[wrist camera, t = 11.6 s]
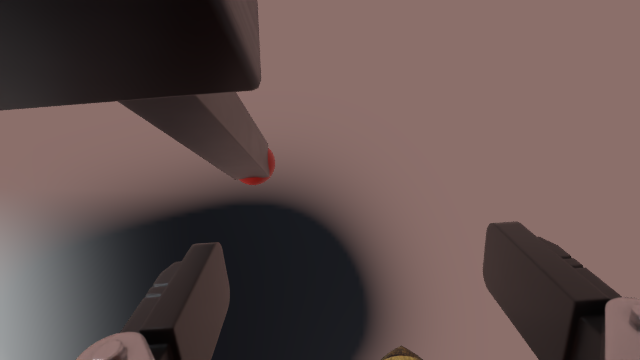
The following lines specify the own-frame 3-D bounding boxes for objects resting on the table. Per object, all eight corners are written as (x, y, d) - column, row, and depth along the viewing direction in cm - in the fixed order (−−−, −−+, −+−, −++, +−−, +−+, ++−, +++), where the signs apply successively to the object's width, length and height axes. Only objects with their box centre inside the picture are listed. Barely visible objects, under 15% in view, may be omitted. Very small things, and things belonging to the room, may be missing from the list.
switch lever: (83, -41, 5) (91, -207, 5) (-137, -23, 5) (-109, -190, 5) (280, 186, 24) (278, 146, 25) (236, 189, 24) (235, 149, 25)
